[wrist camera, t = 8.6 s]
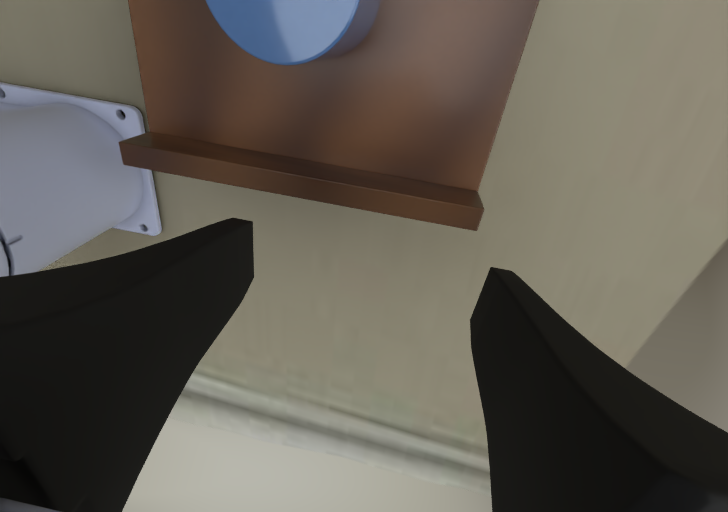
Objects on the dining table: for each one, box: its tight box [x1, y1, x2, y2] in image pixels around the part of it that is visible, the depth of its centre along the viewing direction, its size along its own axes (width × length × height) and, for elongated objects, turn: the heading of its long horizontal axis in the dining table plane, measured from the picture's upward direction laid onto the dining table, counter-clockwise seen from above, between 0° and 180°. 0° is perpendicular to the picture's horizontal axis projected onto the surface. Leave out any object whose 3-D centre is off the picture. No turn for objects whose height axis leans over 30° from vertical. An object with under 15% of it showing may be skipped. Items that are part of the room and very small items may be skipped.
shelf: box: [119, 0, 539, 231], centre depth 15 cm, size 15×10×6 cm, turn 82°
